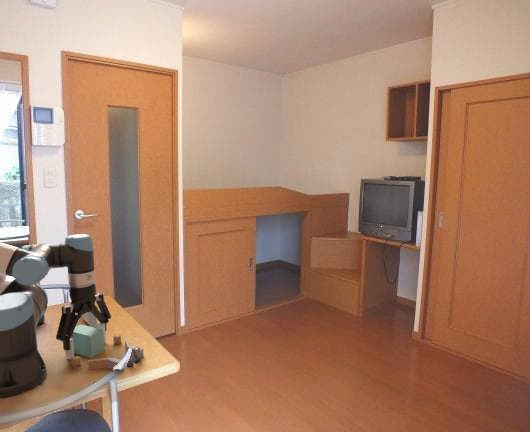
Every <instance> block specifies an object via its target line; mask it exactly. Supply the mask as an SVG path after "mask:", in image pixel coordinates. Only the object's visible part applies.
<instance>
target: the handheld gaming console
mask: <svg viewBox="0 0 530 432" xmlns="http://www.w3.org/2000/svg"><path fill="white" fill-rule="evenodd" d="M94 305H95V306H96V302H95V303H94ZM81 318H82V319H83V321H84V322H86V323H87V324H88V326H89V327H93V328H97V323H98V320H97V318H96V317H95V316H94V315H93V314H92V313H91V312H87V313H85V314H83V315H82V316H81Z"/></svg>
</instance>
